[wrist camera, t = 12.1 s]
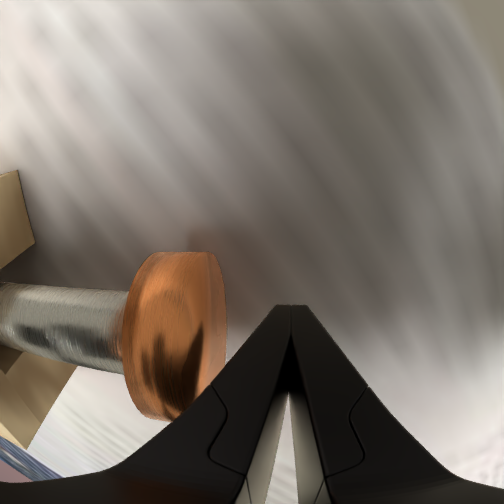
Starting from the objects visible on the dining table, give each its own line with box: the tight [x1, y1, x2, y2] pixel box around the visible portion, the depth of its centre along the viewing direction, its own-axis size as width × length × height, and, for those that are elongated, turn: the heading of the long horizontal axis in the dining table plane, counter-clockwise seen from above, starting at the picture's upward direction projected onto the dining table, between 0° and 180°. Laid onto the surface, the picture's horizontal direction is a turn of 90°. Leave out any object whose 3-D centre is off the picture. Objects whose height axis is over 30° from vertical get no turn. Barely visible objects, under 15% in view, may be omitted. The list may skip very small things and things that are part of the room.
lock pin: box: [0, 252, 227, 422], centre depth 8 cm, size 4×15×4 cm, turn 93°
